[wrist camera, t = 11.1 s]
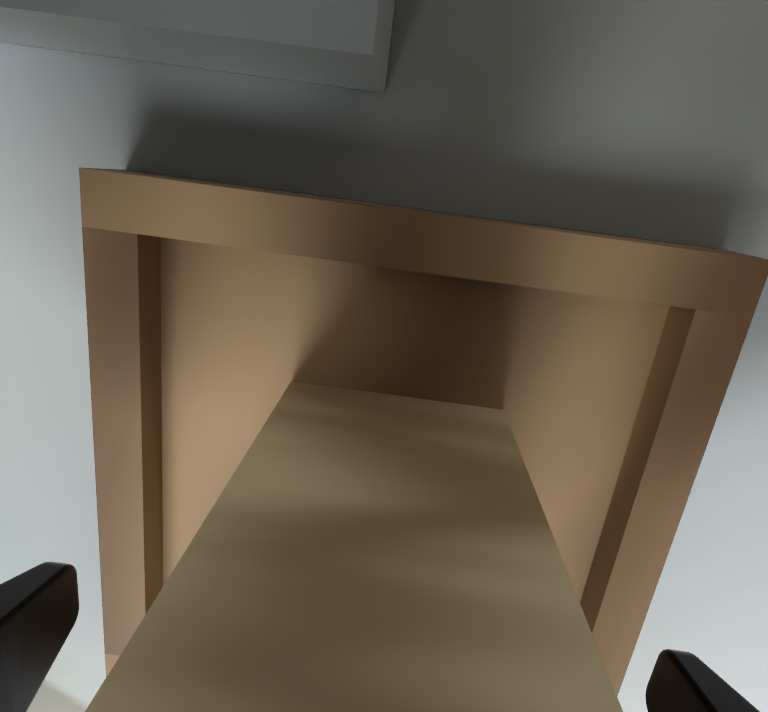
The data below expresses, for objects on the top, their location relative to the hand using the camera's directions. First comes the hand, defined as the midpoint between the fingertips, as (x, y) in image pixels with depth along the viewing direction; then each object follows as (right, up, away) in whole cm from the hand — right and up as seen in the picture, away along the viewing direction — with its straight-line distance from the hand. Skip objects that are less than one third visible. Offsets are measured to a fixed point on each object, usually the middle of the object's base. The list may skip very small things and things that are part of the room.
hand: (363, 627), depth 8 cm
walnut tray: (0, +1, +4) cm, 5 cm away
